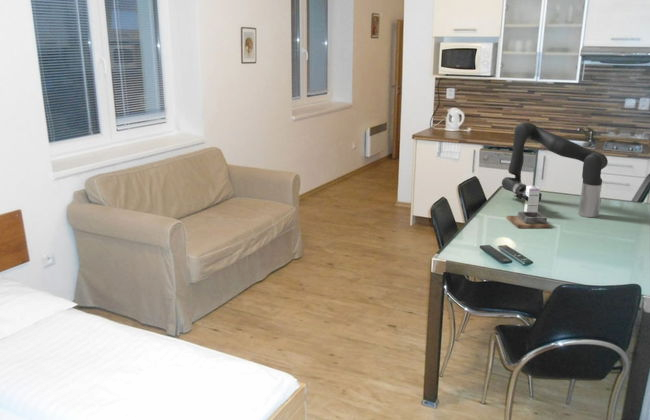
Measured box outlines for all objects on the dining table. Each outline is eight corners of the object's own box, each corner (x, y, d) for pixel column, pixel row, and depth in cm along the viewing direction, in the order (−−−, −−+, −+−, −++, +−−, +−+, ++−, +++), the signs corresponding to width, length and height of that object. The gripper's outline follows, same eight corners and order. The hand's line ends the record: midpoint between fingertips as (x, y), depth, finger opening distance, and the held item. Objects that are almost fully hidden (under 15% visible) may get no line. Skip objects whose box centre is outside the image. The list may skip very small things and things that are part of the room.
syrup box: (537, 214, 306) (540, 188, 302) (526, 214, 306) (529, 188, 302) (534, 211, 311) (537, 185, 307) (523, 211, 311) (526, 185, 307)
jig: (536, 218, 300) (537, 210, 299) (549, 228, 285) (550, 219, 283) (506, 218, 299) (507, 210, 298) (517, 228, 284) (518, 219, 283)
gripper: (509, 184, 318) (521, 192, 302) (535, 184, 319) (548, 192, 303) (508, 197, 321) (519, 205, 305) (533, 197, 321) (546, 205, 305)
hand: (533, 198), depth 304 cm, fingers closed on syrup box, 6 cm apart
